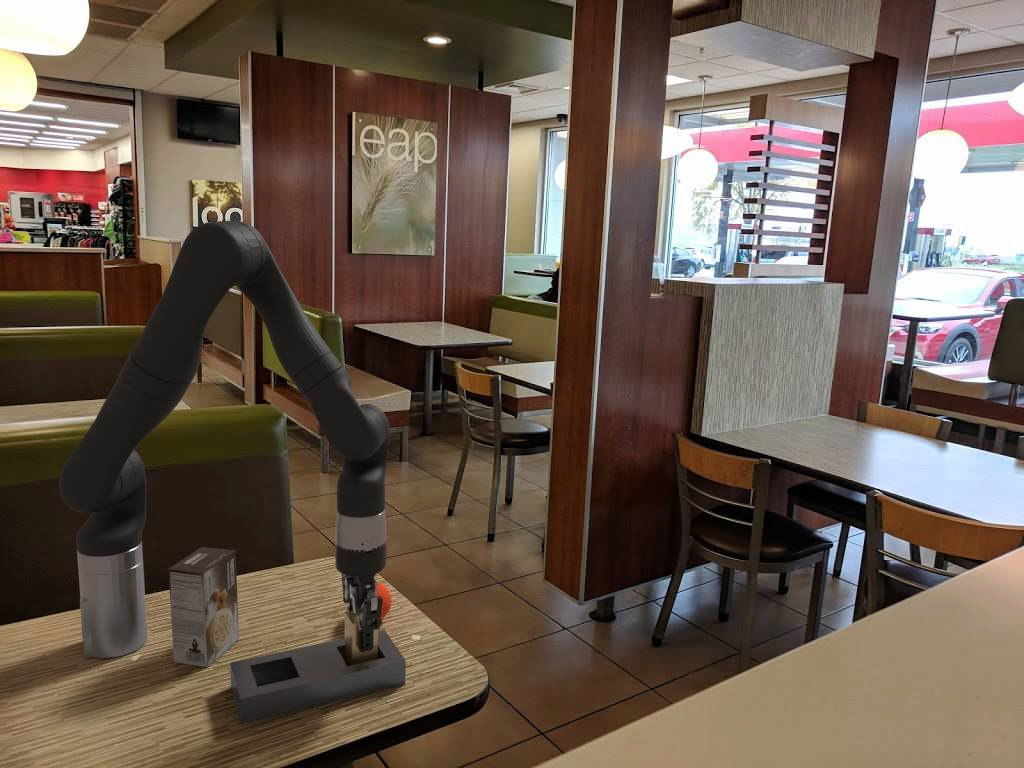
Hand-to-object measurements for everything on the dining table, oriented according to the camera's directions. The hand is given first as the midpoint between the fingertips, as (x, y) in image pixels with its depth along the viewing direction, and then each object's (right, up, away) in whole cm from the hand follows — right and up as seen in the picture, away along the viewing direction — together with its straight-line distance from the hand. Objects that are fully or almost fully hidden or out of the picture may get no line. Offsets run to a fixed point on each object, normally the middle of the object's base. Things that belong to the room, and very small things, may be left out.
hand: (360, 641), depth 119 cm
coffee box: (-26, -4, +6) cm, 27 cm away
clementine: (-2, -3, +18) cm, 18 cm away
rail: (-6, -6, -2) cm, 9 cm away
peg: (0, -5, +1) cm, 6 cm away
